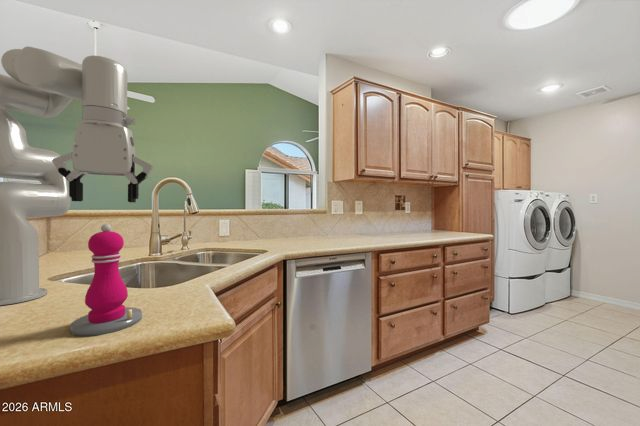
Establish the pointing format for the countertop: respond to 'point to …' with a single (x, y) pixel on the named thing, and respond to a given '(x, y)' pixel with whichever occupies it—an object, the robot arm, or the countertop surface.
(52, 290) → the countertop surface
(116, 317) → the pepper mill
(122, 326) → the grey flat disc
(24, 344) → the countertop surface
